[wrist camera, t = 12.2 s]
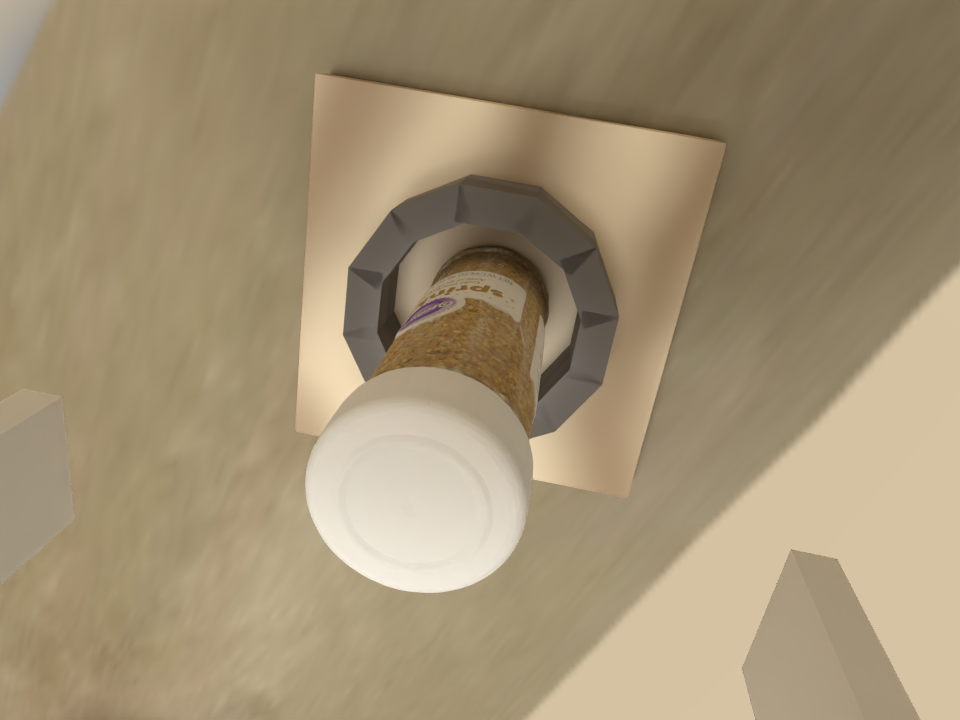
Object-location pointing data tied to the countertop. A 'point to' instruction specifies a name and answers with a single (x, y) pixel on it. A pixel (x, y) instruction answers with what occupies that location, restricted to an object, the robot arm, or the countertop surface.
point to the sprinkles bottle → (439, 433)
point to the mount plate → (509, 225)
